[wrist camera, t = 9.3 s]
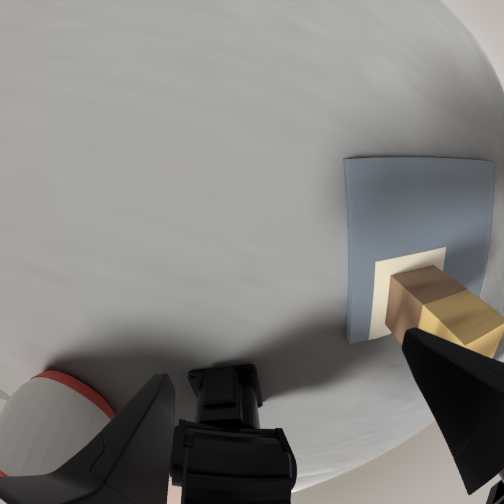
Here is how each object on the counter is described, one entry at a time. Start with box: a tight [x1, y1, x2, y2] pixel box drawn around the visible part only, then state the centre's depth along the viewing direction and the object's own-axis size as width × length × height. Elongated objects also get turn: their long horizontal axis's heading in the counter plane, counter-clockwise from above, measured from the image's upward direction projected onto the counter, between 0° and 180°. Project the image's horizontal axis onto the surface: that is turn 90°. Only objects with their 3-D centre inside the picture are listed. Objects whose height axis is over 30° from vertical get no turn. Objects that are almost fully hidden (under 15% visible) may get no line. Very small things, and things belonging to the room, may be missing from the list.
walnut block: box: [385, 265, 467, 345], centre depth 19 cm, size 5×5×5 cm
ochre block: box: [418, 289, 504, 358], centre depth 14 cm, size 5×5×5 cm
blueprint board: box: [344, 157, 494, 345], centre depth 21 cm, size 16×18×1 cm
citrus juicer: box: [0, 370, 115, 476], centre depth 16 cm, size 16×17×20 cm
